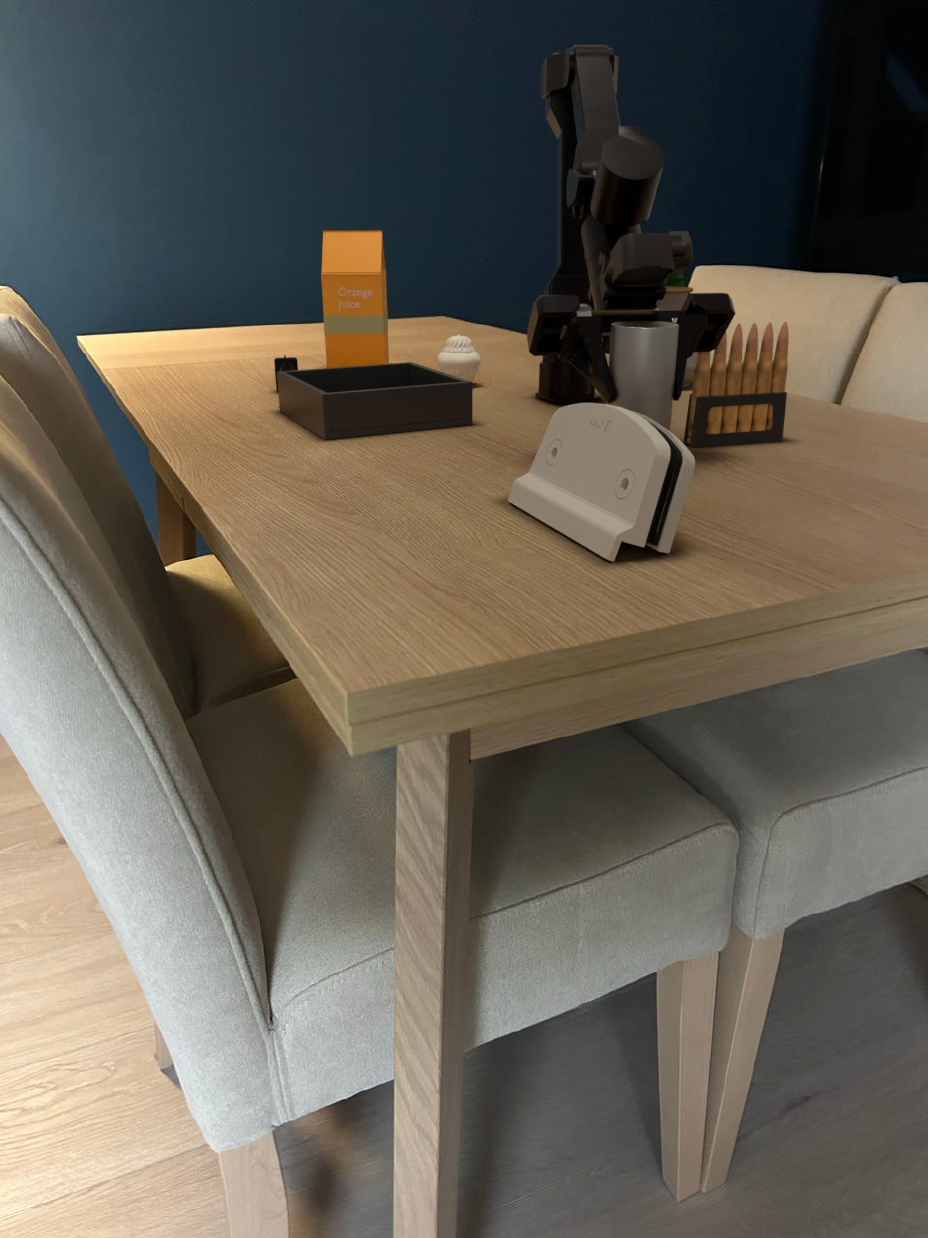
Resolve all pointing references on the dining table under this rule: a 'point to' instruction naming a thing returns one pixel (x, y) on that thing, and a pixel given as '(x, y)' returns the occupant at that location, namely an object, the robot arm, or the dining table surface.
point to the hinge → (607, 479)
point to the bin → (374, 399)
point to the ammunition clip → (739, 392)
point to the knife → (285, 365)
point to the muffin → (459, 358)
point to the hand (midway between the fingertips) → (644, 398)
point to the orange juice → (354, 298)
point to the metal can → (644, 367)
